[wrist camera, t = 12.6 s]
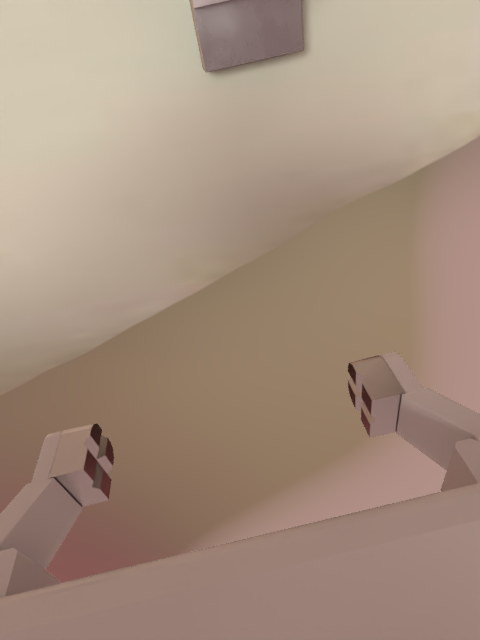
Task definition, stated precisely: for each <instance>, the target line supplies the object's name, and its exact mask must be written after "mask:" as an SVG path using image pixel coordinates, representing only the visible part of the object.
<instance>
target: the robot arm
mask: <svg viewBox="0 0 480 640" xmlns="http://www.w3.org/2000/svg"><path fill="white" fill-rule="evenodd" d="M348 372H349V374H350V376H351V377H350V379H349V380H348V388H349V394H350V397H351V400H352V402H353V405H354V407H355V409H357V410H359V411H360V412H361V421H362V423H363V425H364V427H365V429H366V431H367V433H368V435H369V437H374V436H379V435H384V434H388V433H393V432H396V433H397V434H398V435H400V436H401V437H402V438H404V439H405V440H406V441H408V442H409V443H410V444H412V445H413V446H414V447H416V448H417V449H419V450H420V451H421V452H423V453H424V454H425V455H427V456H428V457H429V458H431V459H432V460H433V461H435V462H436V463H438V464H439V465H440V466H441V467H443V468H444V469H446V470H447V472H446V475H445V478H444V482H443V484H442V488H441V491H442V492H438V493H434V494H430V495H426V496H422V497H417V498H413V499H409V500H405V501H401V502H397V503H392V504H388V505H384V506H380V507H376V508H372V509H368V510H363V511H359V512H355V513H351V514H347V515H343V516H338V517H334V518H330V519H326V520H322V521H317V522H314V523H309V524H305V525H301V526H297V527H292V528H288V529H284V530H280V531H276V532H272V533H268V534H263V535H259V536H255V537H251V538H247V539H243V540H239V541H234V542H231V543H226V544H222V545H218V546H213V547H210V548H205V549H201V550H197V551H193V552H189V553H185V554H180V555H176V556H172V557H168V558H164V559H160V560H155V561H151V562H147V563H143V564H139V565H135V566H131V567H126V568H122V569H118V570H114V571H110V572H106V573H102V574H97V575H93V576H89V577H85V578H81V579H77V580H72V581H68V582H65V583H60V581H59V580H58V579H57V578H56V577H55V576H54V575H52V574H51V573H49V572H48V571H46V569H47V567H48V565H49V564H50V562H51V560H52V559H53V557H54V555H55V554H56V552H57V550H58V549H59V547H60V545H61V544H62V542H63V540H64V539H65V537H66V535H67V534H68V532H69V530H70V529H71V527H72V525H73V524H74V522H75V520H76V519H77V517H78V515H79V514H80V512H81V511H82V507H84V506H88V505H91V504H95V503H99V502H103V501H106V500H109V495H110V488H111V478H110V477H109V476H108V473H109V471H110V470H111V469H112V467H113V463H114V453H113V447H112V445H111V442H110V441H109V439H108V438H107V437H104V436H102V435H101V433H102V429H101V428H100V426H99V425H98V424H91V425H87V426H82V427H77V428H73V429H68V430H64V431H59V432H55V433H50V434H48V435H47V436H46V437H45V439H44V442H43V445H42V448H41V452H40V455H39V459H38V462H37V465H36V468H35V472H34V475H33V478H32V482H31V483H30V484H26V485H25V486H24V488H23V489H22V490H21V491H20V492H19V493H18V495H17V496H16V497H15V498H14V499H13V500H12V501H11V503H10V504H9V505H8V506H7V507H6V508H5V510H4V511H3V512H2V513H1V514H0V640H480V414H479V413H477V412H475V411H473V410H471V409H469V408H467V407H465V406H463V405H461V404H459V403H457V402H455V401H453V400H451V399H449V398H447V397H445V396H443V395H441V394H439V393H437V392H435V391H433V390H431V389H429V388H427V389H423V387H422V386H421V384H420V383H419V382H418V380H417V379H416V377H415V376H414V374H413V373H412V372H411V370H410V369H409V367H408V366H407V365H406V363H405V362H404V360H403V359H402V358H401V356H400V355H399V353H397V352H391V353H387V354H383V355H380V356H379V355H378V356H374V357H370V358H366V359H362V360H358V361H354V362H350V363H349V365H348Z"/></svg>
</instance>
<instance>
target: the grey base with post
mask: <svg viewBox="0 0 480 640" xmlns="http://www.w3.org/2000/svg"><path fill="white" fill-rule="evenodd" d="M189 1H190V6H191V11H192V16H193V21H194V26H195V31H196V36H197V41H198V46H199V51H200V56H201V61H202V66H203V69H204V71H205V72H210V71H215V70H219V69H223V68H228V67H232V66H236V65H241V64H245V63H249V62H254V61H258V60H262V59H267V58H271V57H275V56H280V55H284V54H288V53H293V52H297V51H301V50H304V46H303V28H302V11H301V0H189Z"/></svg>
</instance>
